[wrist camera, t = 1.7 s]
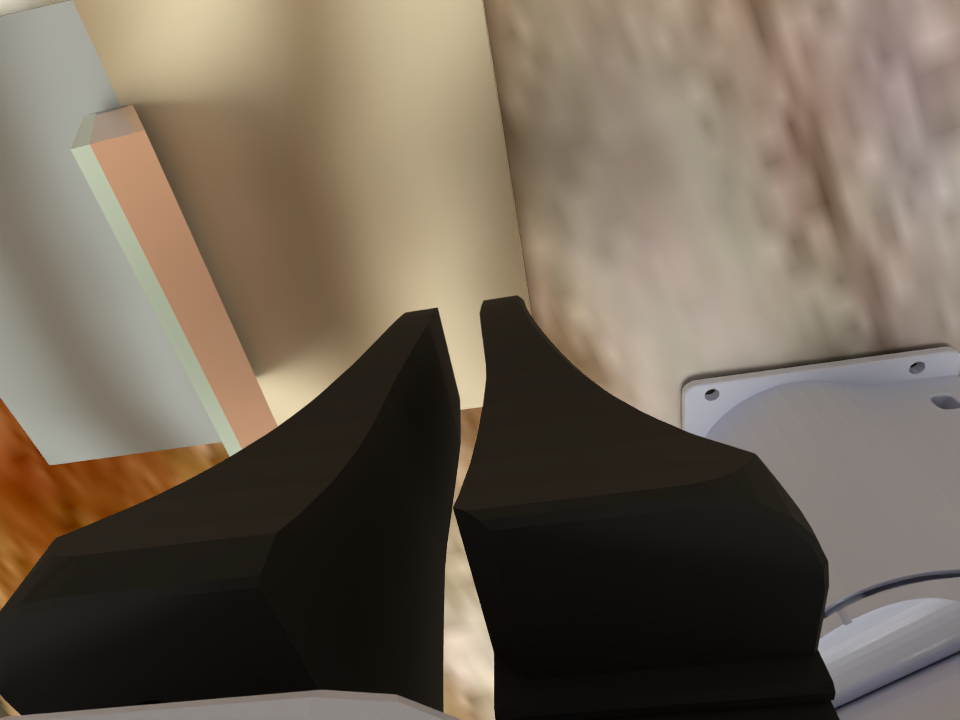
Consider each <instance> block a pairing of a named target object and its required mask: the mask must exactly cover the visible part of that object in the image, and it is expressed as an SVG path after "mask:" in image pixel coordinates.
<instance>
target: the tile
mask: <svg viewBox="0 0 960 720" xmlns="http://www.w3.org/2000/svg"><path fill="white" fill-rule="evenodd" d="M71 151H72V153H73V155H74V157H75V159H76V161H77V163H78V165H79V167H80V169H81V171H82V172H83V174H84V176H85V178H86V180H87V182H88V184H89V186H90V188H91V190H92V192H93V194H94V196H95V198H96V199H97V201H98V203H99V205H100V207H101V209H102V211H103V213H104V215H105V217H106V219H107V221H108V223H109V225H110V227H111V228H112V230H113V232H114V234H115V236H116V238H117V240H118V242H119V244H120V246H121V248H122V250H123V252H124V254H125V255H126V257H127V259H128V261H129V263H130V265H131V267H132V269H133V271H134V273H135V275H136V277H137V279H138V281H139V283H140V284H141V286H142V288H143V290H144V292H145V294H146V296H147V298H148V300H149V302H150V304H151V306H152V308H153V310H154V311H155V313H156V315H157V317H158V319H159V321H160V323H161V325H162V327H163V329H164V331H165V333H166V335H167V337H168V339H169V340H170V342H171V344H172V346H173V348H174V350H175V352H176V354H177V356H178V358H179V360H180V362H181V364H182V366H183V367H184V369H185V371H186V373H187V375H188V377H189V379H190V381H191V383H192V385H193V387H194V389H195V391H196V393H197V395H198V396H199V398H200V400H201V402H202V404H203V406H204V408H205V410H206V412H207V414H208V416H209V418H210V420H211V422H212V423H213V425H214V427H215V429H216V431H217V433H218V435H219V437H220V439H221V441H222V443H223V445H224V447H225V449H226V451H227V452H228V454H229V456H232V455H234V454H235V453H237V452H238V451H240V450H242V449H243V448H245V447H246V446H248V445H250V444H251V443H253V442H255V441H256V440H258V439H259V438H261V437H263V436H264V435H266V434H267V433H269V432H270V431H272V430H273V429H275V428H276V427H278V426H277V424H276V421H275V419H274V417H273V415H272V412H271V410H270V408H269V406H268V404H267V401H266V399H265V397H264V395H263V392H262V390H261V388H260V386H259V383H258V381H257V379H256V377H255V375H254V372H253V370H252V368H251V366H250V363H249V361H248V359H247V357H246V354H245V352H244V350H243V348H242V346H241V343H240V341H239V339H238V337H237V334H236V332H235V330H234V328H233V326H232V323H231V321H230V319H229V317H228V314H227V312H226V310H225V308H224V305H223V303H222V301H221V299H220V297H219V294H218V292H217V290H216V288H215V285H214V283H213V281H212V279H211V276H210V274H209V272H208V270H207V268H206V265H205V263H204V261H203V259H202V256H201V254H200V252H199V250H198V248H197V245H196V243H195V241H194V239H193V236H192V234H191V232H190V230H189V227H188V225H187V223H186V221H185V219H184V216H183V214H182V212H181V210H180V207H179V205H178V203H177V201H176V198H175V196H174V194H173V192H172V190H171V187H170V185H169V183H168V181H167V178H166V176H165V174H164V172H163V170H162V167H161V165H160V163H159V161H158V158H157V156H156V154H155V152H154V149H153V147H152V145H151V143H150V141H149V138H148V136H147V134H146V132H145V129H144V127H143V125H142V123H141V121H140V119H139V117H138V115H137V113H136V111H135V109H134V107H133V105H125V106H120V107H115V108H110V109H106V110H102V111H99V112H95V113H92V114H89V115H87V116H83V119H82V122H81V124H80V127H79V129H78V132H77V134H76V137H75V139H74V142H73V144H72V147H71Z"/></svg>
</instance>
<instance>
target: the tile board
mask: <svg viewBox="0 0 960 720" xmlns="http://www.w3.org/2000/svg"><path fill="white" fill-rule="evenodd" d="M125 105H133V107H134V109H135V111H136V113H137V115H138V117H139V119H140V121H141V123H142V125H143V127H144V129H145V132H146V134H147V136H148V138H149V141H150V143H151V145H152V147H153V149H154V152H155V154H156V156H157V158H158V161H159V163H160V165H161V167H162V170H163V172H164V174H165V176H166V178H167V181H168V183H169V185H170V187H171V190H172V192H173V194H174V196H175V198H176V201H177V203H178V205H179V207H180V210H181V212H182V214H183V216H184V219H185V221H186V223H187V225H188V227H189V230H190V232H191V234H192V236H193V239H194V241H195V243H196V245H197V248H198V250H199V252H200V254H201V256H202V259H203V261H204V263H205V265H206V268H207V270H208V272H209V274H210V276H211V279H212V281H213V283H214V285H215V288H216V290H217V292H218V294H219V297H220V299H221V301H222V303H223V305H224V308H225V310H226V312H227V314H228V317H229V319H230V321H231V323H232V326H233V328H234V330H235V332H236V334H237V337H238V339H239V341H240V343H241V346H242V348H243V350H244V352H245V354H246V357H247V359H248V361H249V363H250V366H251V368H252V370H253V372H254V375H255V377H256V379H257V381H258V383H259V386H260V388H261V390H262V392H263V395H264V397H265V399H266V401H267V404H268V406H269V408H270V410H271V412H272V415H273V417H274V419H275V421H276V424H277V426H279V425H280V424H282V423H283V422H285V421H286V420H287V419H289V418H290V417H291V416H293V415H294V414H296V413H297V412H298V411H300V410H301V409H302V408H303V407H305V406H306V405H307V404H308V403H310V402H311V401H312V400H313V399H315V398H316V397H317V396H318V395H319V394H321V393H322V392H323V391H324V390H325V389H326V388H327V387H328V386H329V385H330V384H332V383H333V382H334V381H335V380H336V379H337V378H338V377H339V376H340V375H341V374H343V373H344V372H345V371H346V370H347V369H348V368H349V367H350V366H351V365H352V364H354V363H355V362H356V361H357V360H358V359H359V358H360V356H361V355H362V354H363V353H364V352H365V351H366V350H367V349H368V348H369V347H370V346H371V345H372V344H373V343H374V342H375V341H376V340H377V339H378V338H379V337H380V336H381V335H382V334H383V333H384V332H385V331H386V330H387V329H388V328H389V327H390V326H391V325H392V324H393V323H394V322H395V321H396V320H397V319H398V318H399V317H400V316H401V315H403V314H404V313H405V312H411V311H418V310H424V309H431V308H437V307H438V310H439V314H440V319H441V323H442V327H443V331H444V335H445V339H446V343H447V347H448V351H449V355H450V360H451V364H452V368H453V372H454V376H455V380H456V384H457V388H458V392H459V396H460V410H462V409H470V408H477V407H483V400H484V392H485V384H486V363H485V355H484V347H483V339H482V331H481V323H480V315H479V313H480V309H481V305H482V303H483V300H489V299H496V298H502V297H509V296H515V295H518V296H519V297H521V298H522V299H523V300H524V301H525V305H526V307H527V309H528V311H529V313H530V315H531V316H532V312H531V306H530V299H529V293H528V286H527V280H526V273H525V267H524V260H523V254H522V247H521V241H520V234H519V228H518V222H517V215H516V209H515V202H514V196H513V189H512V183H511V176H510V170H509V163H508V157H507V150H506V144H505V137H504V131H503V124H502V118H501V111H500V105H499V99H498V92H497V86H496V79H495V73H494V66H493V60H492V53H491V47H490V40H489V34H488V27H487V21H486V14H485V8H484V1H483V0H70V1H66V2H62V3H57V4H53V5H48V6H44V7H39V8H35V9H31V10H26V11H22V12H17V13H13V14H9V15H4V16H0V398H1V399H2V400H3V402H4V403H5V404H6V406H7V407H8V409H9V410H10V411H11V413H12V414H13V415H14V417H15V418H16V420H17V421H18V422H19V424H20V425H21V427H22V428H23V429H24V431H25V432H26V433H27V435H28V436H29V438H30V439H31V440H32V442H33V443H34V444H35V446H36V447H37V449H38V450H39V451H40V453H41V454H42V455H43V457H44V458H45V460H46V461H47V462H48V464H49V465H55V464H62V463H69V462H77V461H84V460H92V459H99V458H107V457H114V456H121V455H129V454H136V453H144V452H151V451H158V450H166V449H173V448H181V447H188V446H196V445H203V444H210V443H218V442H222V441H221V439H220V437H219V435H218V433H217V431H216V429H215V427H214V425H213V423H212V422H211V420H210V418H209V416H208V414H207V412H206V410H205V408H204V406H203V404H202V402H201V400H200V398H199V396H198V395H197V393H196V391H195V389H194V387H193V385H192V383H191V381H190V379H189V377H188V375H187V373H186V371H185V369H184V367H183V366H182V364H181V362H180V360H179V358H178V356H177V354H176V352H175V350H174V348H173V346H172V344H171V342H170V340H169V339H168V337H167V335H166V333H165V331H164V329H163V327H162V325H161V323H160V321H159V319H158V317H157V315H156V313H155V311H154V310H153V308H152V306H151V304H150V302H149V300H148V298H147V296H146V294H145V292H144V290H143V288H142V286H141V284H140V283H139V281H138V279H137V277H136V275H135V273H134V271H133V269H132V267H131V265H130V263H129V261H128V259H127V257H126V255H125V254H124V252H123V250H122V248H121V246H120V244H119V242H118V240H117V238H116V236H115V234H114V232H113V230H112V228H111V227H110V225H109V223H108V221H107V219H106V217H105V215H104V213H103V211H102V209H101V207H100V205H99V203H98V201H97V199H96V198H95V196H94V194H93V192H92V190H91V188H90V186H89V184H88V182H87V180H86V178H85V176H84V174H83V172H82V171H81V169H80V167H79V165H78V163H77V161H76V159H75V157H74V155H73V153H72V151H71V147H72V144H73V142H74V139H75V137H76V134H77V132H78V129H79V127H80V124H81V122H82V119H83V116H87V115H89V114H92V113H95V112H99V111H102V110H106V109H110V108H115V107H120V106H125Z"/></svg>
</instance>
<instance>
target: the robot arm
mask: <svg viewBox="0 0 960 720" xmlns="http://www.w3.org/2000/svg"><path fill="white" fill-rule="evenodd" d="M479 315H480V323H481V331H482V339H483V347H484V355H485V363H486V384H485V392H484V400H483V407H482V413H481V419H480V425H479V430H478V435H477V439H476V443H475V447H474V451H473V455H472V459H471V463H470V466H469V469H468V471H467V474H466V477H465V479H464V482H463V485H462V488H461V490H460V493H459V496H458V498H457V500H456V502H455V504H454V506H453V509H454V513H455V516H456V520H457V523H458V527H459V530H460V534H461V537H462V541H463V545H464V548H465V552H466V555H467V559H468V562H469V566H470V569H471V573H472V576H473V580H474V583H475V587H476V590H477V594H478V597H479V601H480V604H481V608H482V611H483V615H484V619H485V622H486V626H487V629H488V633H489V636H490V640H491V643H492V647H493V650H494V710H495V719H496V720H960V377H959V376H958V375H959V371H960V353H959V352H958V351H957V350H956V349H954V348H952V347H938V348H931V349H923V350H916V351H908V352H901V353H894V354H886V355H879V356H871V357H864V358H856V359H849V360H842V361H834V362H827V363H819V364H812V365H804V366H797V367H790V368H782V369H775V370H767V371H760V372H752V373H745V374H737V375H730V376H723V377H715V378H708V379H700V380H694V381H691V382H689V383H687V384H686V385H685V386H684V387H683V389H682V429H679V428H677V427H675V426H672V425H670V424H667V423H665V422H663V421H660V420H658V419H656V418H654V417H652V416H650V415H647V414H645V413H643V412H641V411H639V410H638V409H636V408H634V407H632V406H630V405H629V404H627V403H625V402H623V401H621V400H620V399H618V398H616V397H614V396H613V395H611V394H610V393H608V392H607V391H605V390H604V389H603V388H601V387H600V386H599V385H597V384H596V383H595V382H593V381H592V380H591V379H589V378H588V377H587V376H586V375H584V374H583V373H582V372H581V371H580V370H579V369H577V368H576V367H575V366H574V365H573V364H572V363H571V362H570V361H569V360H568V359H567V358H566V357H565V356H564V355H563V354H562V353H561V352H560V351H559V350H558V349H557V348H556V347H555V346H554V345H553V343H552V342H551V341H550V340H549V339H548V338H547V336H546V335H545V334H544V333H543V332H542V330H541V329H540V328H539V326H538V325H537V324H536V322H535V321H534V319H533V318H532V316H531V315H530V313H529V311H528V309H527V307H526V305H525V301H524V300H523V299H522V298H521V297H519V296H518V295H515V296H509V297H502V298H496V299H489V300H483V303H482V305H481V309H480V313H479ZM916 362H918V363H917V364H916V365H915V366H914V367H911V368H910V366H911V365H912V364H914V363H916ZM711 389H716V390H715V391H714V392H713V393H712V394H709V395H708V394H705V393H706V392H707V391H708V390H711ZM460 444H461V420H460V396H459V392H458V388H457V384H456V380H455V376H454V372H453V368H452V364H451V360H450V355H449V351H448V347H447V343H446V339H445V335H444V331H443V327H442V323H441V319H440V314H439V310H438V307H437V308H431V309H424V310H418V311H411V312H405V313H404V314H403V315H401V316H400V317H399V318H398V319H397V320H396V321H395V322H394V323H393V324H392V325H391V326H390V327H389V328H388V329H387V330H386V331H385V332H384V333H383V334H382V335H381V336H380V337H379V338H378V339H377V340H376V341H375V342H374V343H373V344H372V345H371V346H370V347H369V348H368V349H367V350H366V351H365V352H364V353H363V354H362V355H361V356H360V358H359V359H358V360H357V361H356V362H355V363H354V364H352V365H351V366H350V367H349V368H348V369H347V370H346V371H345V372H344V373H343V374H341V375H340V376H339V377H338V378H337V379H336V380H335V381H334V382H333V383H332V384H330V385H329V386H328V387H327V388H326V389H325V390H324V391H323V392H322V393H321V394H319V395H318V396H317V397H316V398H315V399H313V400H312V401H311V402H310V403H308V404H307V405H306V406H305V407H303V408H302V409H301V410H300V411H298V412H297V413H296V414H294V415H293V416H291V417H290V418H289V419H287V420H286V421H285V422H283V423H282V424H280V425H279V426H278V427H276V428H275V429H273V430H272V431H270V432H269V433H267V434H266V435H264V436H263V437H261V438H259V439H258V440H256V441H255V442H253V443H251V444H250V445H248V446H246V447H245V448H243V449H242V450H240V451H238V452H237V453H235V454H234V455H232V456H230V457H229V458H227V459H225V460H224V461H222V462H220V463H219V464H217V465H215V466H213V467H212V468H210V469H208V470H206V471H204V472H202V473H200V474H198V475H197V476H195V477H193V478H191V479H189V480H187V481H185V482H183V483H181V484H179V485H177V486H175V487H173V488H171V489H169V490H167V491H165V492H163V493H161V494H159V495H157V496H155V497H152V498H150V499H148V500H146V501H144V502H142V503H139V504H137V505H135V506H132V507H130V508H128V509H125V510H123V511H121V512H118V513H116V514H113V515H111V516H109V517H106V518H104V519H101V520H99V521H97V522H94V523H92V524H90V525H87V526H85V527H82V528H80V529H78V530H75V531H73V532H70V533H67V534H65V535H62V536H60V537H57V538H56V539H55V540H54V541H53V542H52V543H51V545H50V546H49V547H48V549H47V550H46V551H45V553H44V554H43V555H42V557H41V558H40V559H39V561H38V562H37V563H36V565H35V566H34V567H33V569H32V570H31V571H30V572H29V574H28V575H27V576H26V578H25V579H24V580H23V582H22V583H21V584H20V586H19V587H18V588H17V590H16V591H15V592H14V594H13V595H12V596H11V598H10V599H9V600H8V602H7V603H6V604H5V606H4V607H3V608H2V609H1V611H0V694H1V696H2V697H3V698H4V699H5V700H6V701H7V702H8V703H9V704H10V705H11V706H12V707H13V708H14V709H15V710H16V711H17V712H18V713H19V714H20V715H21V716H9V717H4V718H0V720H460V719H458V718H456V717H453V716H451V715H448V714H445V713H443V642H444V588H445V563H446V551H447V542H448V535H449V527H450V520H451V513H452V505H453V498H454V491H455V483H456V476H457V468H458V460H459V452H460Z"/></svg>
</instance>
